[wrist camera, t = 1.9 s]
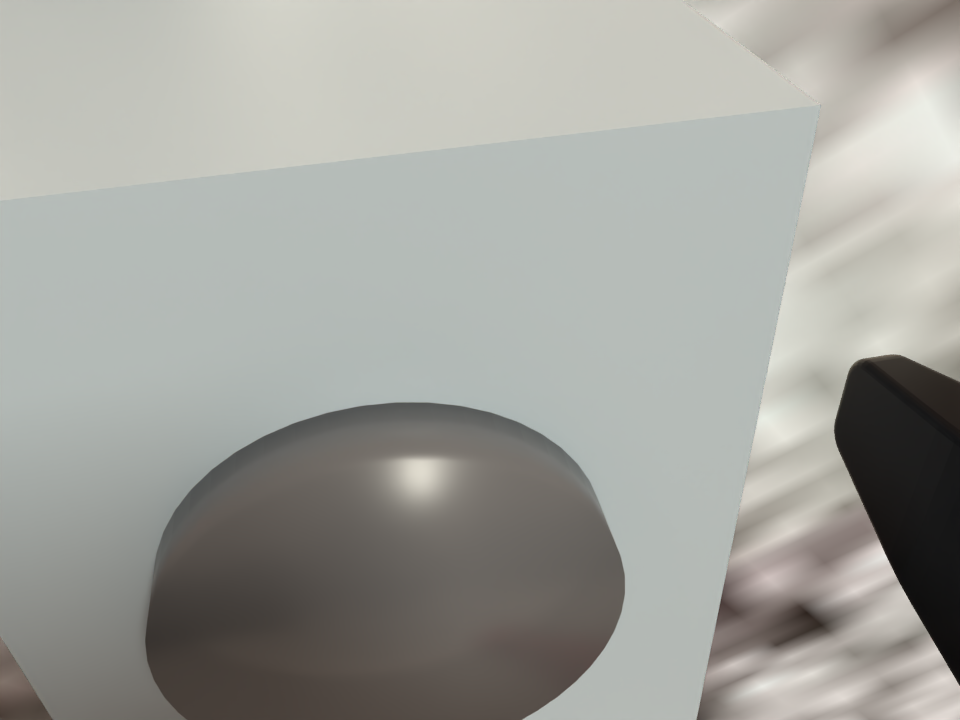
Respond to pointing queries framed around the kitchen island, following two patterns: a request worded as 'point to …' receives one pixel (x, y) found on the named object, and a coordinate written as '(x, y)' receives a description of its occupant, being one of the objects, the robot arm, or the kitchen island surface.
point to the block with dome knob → (381, 352)
